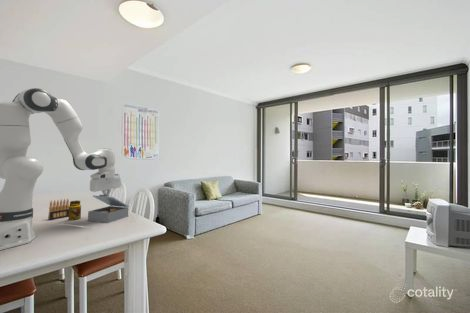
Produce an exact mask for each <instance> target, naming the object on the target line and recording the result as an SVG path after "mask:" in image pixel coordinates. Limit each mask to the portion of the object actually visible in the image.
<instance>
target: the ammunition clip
mask: <svg viewBox="0 0 470 313" xmlns="http://www.w3.org/2000/svg"><path fill="white" fill-rule="evenodd" d="M69 206H70V201H69V198H63V200H62V199H60V201H59V199H57V201H56V200H55V199H54V200H53V201H52V200H50V201H49V206H48V207H49V210H48V218H47V219H48V221H54V220H59V219H65V218H69Z"/></svg>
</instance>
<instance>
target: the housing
mask: <svg viewBox="0 0 470 313" xmlns="http://www.w3.org/2000/svg"><path fill="white" fill-rule="evenodd" d="M113 208H117V211H113V212H110V209H113ZM101 211H108V213H105V212H101ZM127 217H129V207H120V206H110V205H108V206H105V207H104V206H103V207H99V208H96V209H93V210H88V211H87V221H89V222H98V223H107V224H109V223H111V222H115V221H117V220H121V219H124V218H127Z"/></svg>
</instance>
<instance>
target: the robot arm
mask: <svg viewBox="0 0 470 313" xmlns="http://www.w3.org/2000/svg"><path fill="white" fill-rule="evenodd" d="M40 113H45V114H46V115H47V116H49V117H50V118H51V120H52V122H53V123H54V125H55V126H56V128H57V130H58V132H59V133H60V134H61V136H62V138H63V140H64V143H65V144H66V146H67V148H68V150H69V152H70V154H71V156H72V163H73V165H74V168H76V169H78V170H80V171H95V170H97V172H95V173H93V174H91V175H90V181H89V190H90V192H93V193H95V192H100V191H101V192H102V195H108V197H110V193H111V192H112V190H113V189H118V188H121V187H122V181H121V175H120V174H119V173H116V167H115V163H116V156H115V151H114V150H113V149H110V148H100V149H98V150H96V151H94V152H91V153H87V152H86V151H85V150H84V148H83V146H82V144H81V141H80V138H79V136H80V134H81V133H82V131H83V128H84V127H83V124H82V121H81V119H80V118H79V116H78V114H77V112H76V111H75V109H74V108H73V107H72V105H71V104H70V103H69V102H68V101H67V100H65V99H62V98H56V97H55V96H53V95H52V94H51V93H50V92H48V91H47V90H45V89H43V88H36V87H35V88H29V89H25V90H22V91H21V92H20V93H17V95H16V96H14V98H13V100H12V101H11V100H9V101H7V100H5V101H1V102H0V179H2V180H5V181H4V183H3V187H2V189H1V190H0V251H2V250H6V249H10V248H13V247H17V246H22V245H26V244H29V243H32V240H34V239H36V234H35V231H34V226H33V217H34V208H33V196H34V195H33V194H34V189H35V186H36V183H37V180H38V179H39V177H40V176H41V175H42V174H43V171H44V165H43V163H42V162H41V161H40V160H39V159H36V158H34V157H32V156H27V154H28V153H27V152H28V148H29V146H30V145H31V142H32V140H31V131H30V130H31V129H30V120H29V119H30V116H31V115H32V114H33V115H34V114H40Z"/></svg>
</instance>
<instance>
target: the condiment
mask: <svg viewBox="0 0 470 313" xmlns="http://www.w3.org/2000/svg"><path fill="white" fill-rule="evenodd" d="M81 216H82V205H81V200H71V201H69V217H68V219H67V221H79V220H81V218H82V217H81Z"/></svg>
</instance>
